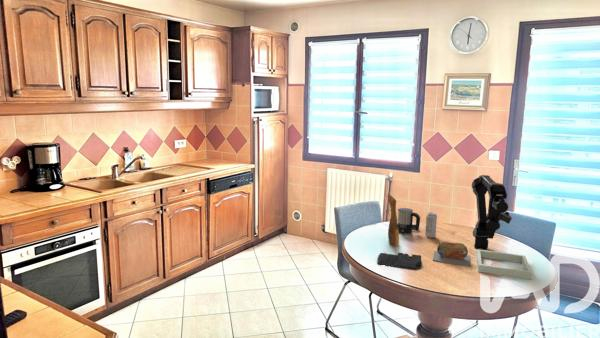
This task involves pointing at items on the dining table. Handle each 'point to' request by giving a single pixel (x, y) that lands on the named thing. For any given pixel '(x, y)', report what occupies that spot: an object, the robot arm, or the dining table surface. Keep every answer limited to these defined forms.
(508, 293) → the dining table surface
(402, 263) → the dark slate chunk
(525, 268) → the grey square frame
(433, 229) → the energy drink can
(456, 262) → the slate mat
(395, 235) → the pancake mix bag
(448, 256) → the tin
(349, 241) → the dining table surface
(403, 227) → the milk frother
